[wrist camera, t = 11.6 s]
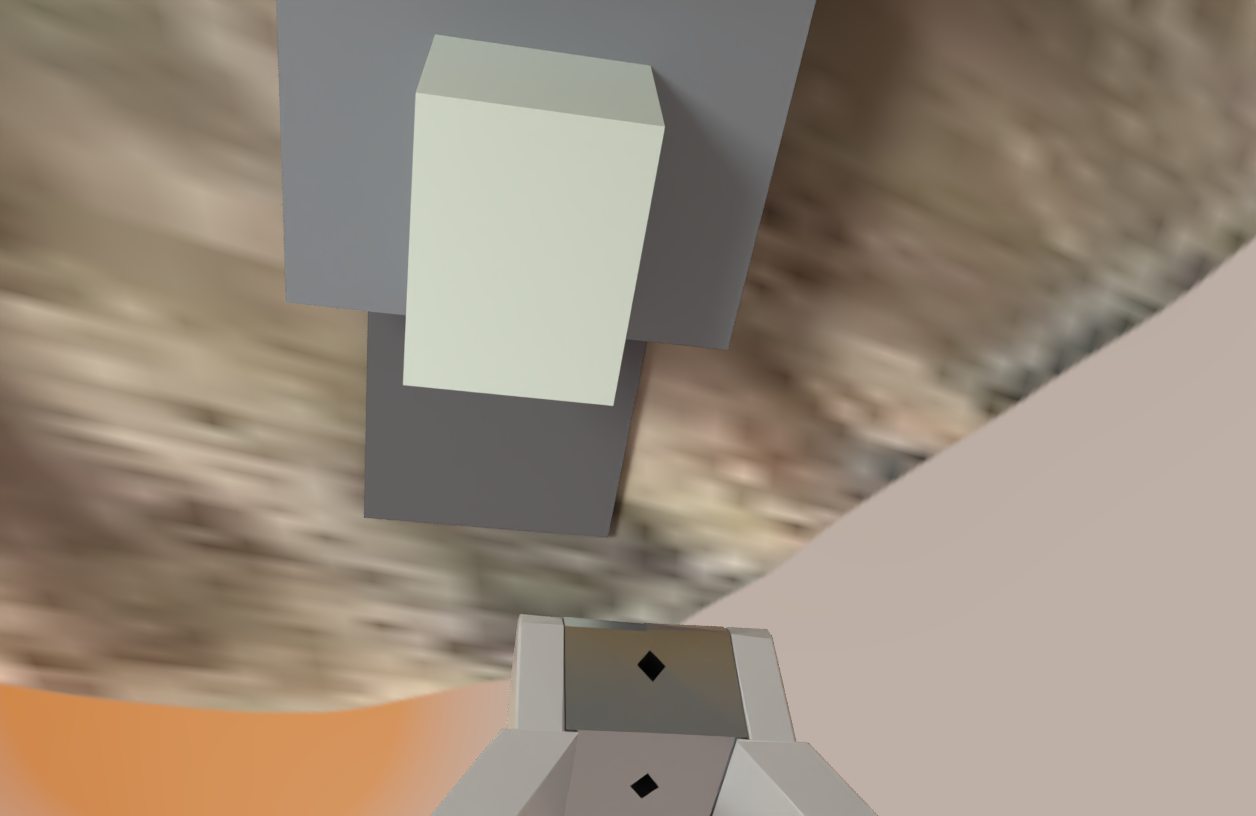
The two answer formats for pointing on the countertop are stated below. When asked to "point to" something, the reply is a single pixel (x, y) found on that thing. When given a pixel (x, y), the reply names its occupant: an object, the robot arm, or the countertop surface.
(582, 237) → the cover
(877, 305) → the countertop surface
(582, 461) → the mat
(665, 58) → the housing
